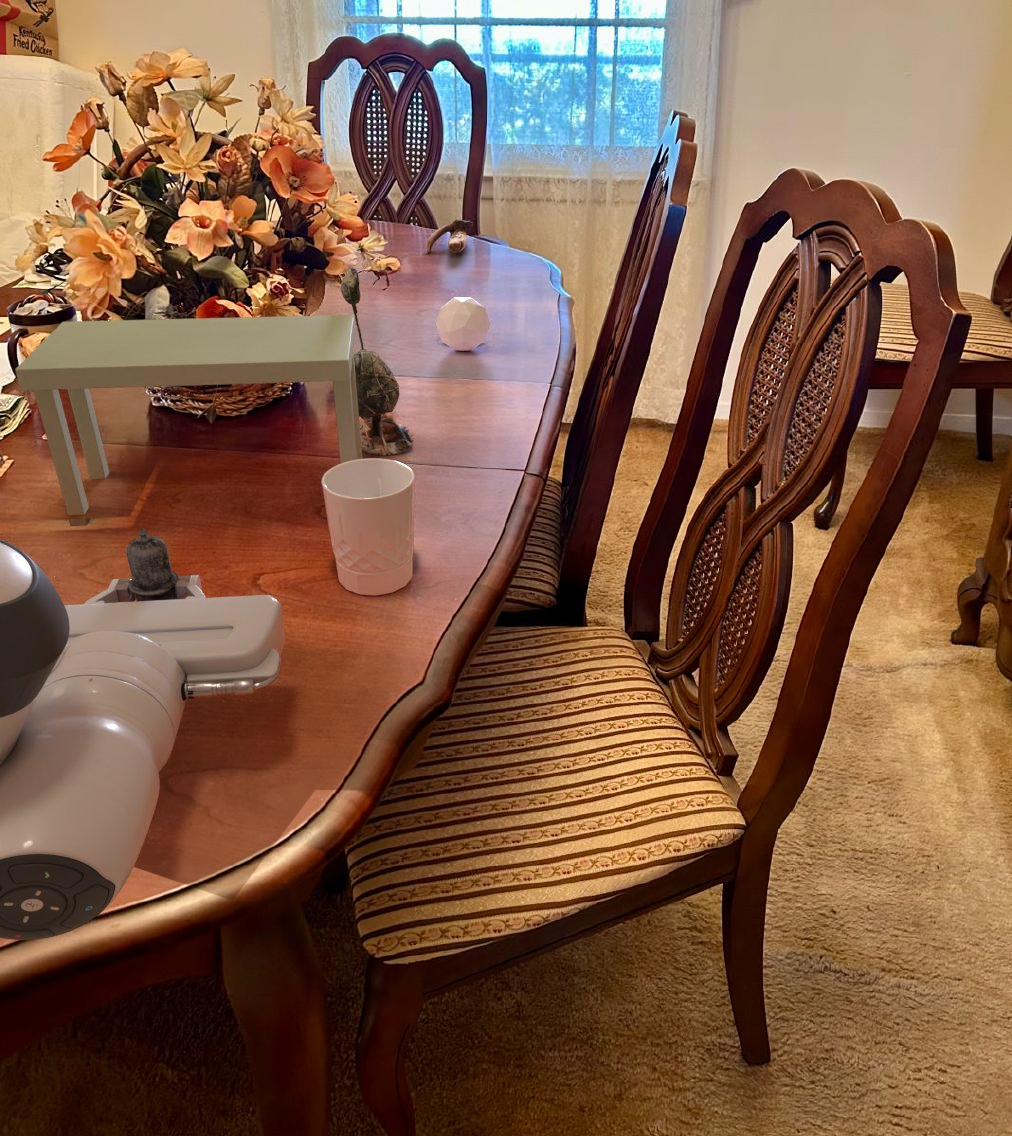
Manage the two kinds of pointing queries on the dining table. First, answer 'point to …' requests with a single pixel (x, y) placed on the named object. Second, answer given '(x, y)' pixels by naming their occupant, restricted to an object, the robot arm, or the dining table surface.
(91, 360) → the side table
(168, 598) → the salt shaker
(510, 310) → the dining table surface
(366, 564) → the white cup
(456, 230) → the lashed bone hook
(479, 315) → the geometric ball
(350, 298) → the plant with pod
